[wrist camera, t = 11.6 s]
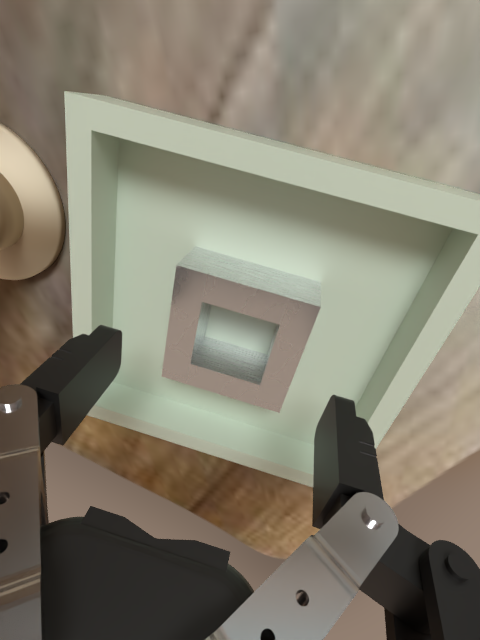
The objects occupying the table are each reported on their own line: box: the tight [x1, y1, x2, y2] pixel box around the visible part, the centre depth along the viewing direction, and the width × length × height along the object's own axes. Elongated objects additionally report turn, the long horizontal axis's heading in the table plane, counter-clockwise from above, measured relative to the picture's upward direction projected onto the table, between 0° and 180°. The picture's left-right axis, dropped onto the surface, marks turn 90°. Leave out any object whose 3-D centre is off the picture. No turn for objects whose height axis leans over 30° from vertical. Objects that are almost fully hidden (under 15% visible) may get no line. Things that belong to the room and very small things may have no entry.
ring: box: [162, 246, 321, 413], centre depth 17 cm, size 6×6×2 cm
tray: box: [64, 91, 480, 487], centre depth 17 cm, size 16×16×3 cm
